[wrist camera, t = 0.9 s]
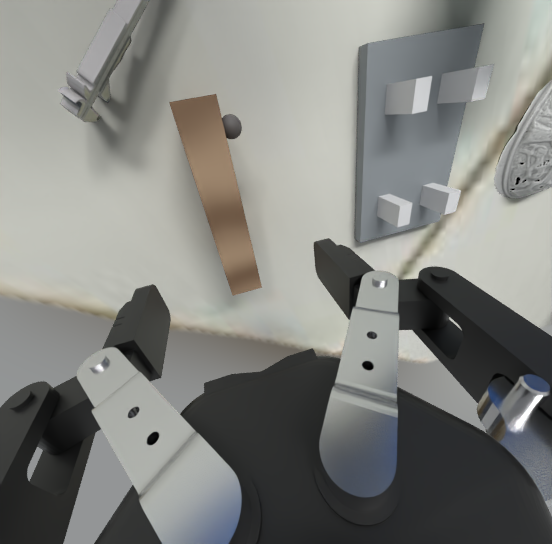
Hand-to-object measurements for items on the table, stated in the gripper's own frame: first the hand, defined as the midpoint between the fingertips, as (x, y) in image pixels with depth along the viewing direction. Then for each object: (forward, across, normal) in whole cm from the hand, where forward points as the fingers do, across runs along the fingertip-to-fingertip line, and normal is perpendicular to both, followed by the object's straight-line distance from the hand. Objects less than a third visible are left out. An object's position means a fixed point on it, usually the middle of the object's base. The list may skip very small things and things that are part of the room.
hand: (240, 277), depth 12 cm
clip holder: (+17, -22, 0) cm, 28 cm away
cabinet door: (+18, 0, 0) cm, 18 cm away
